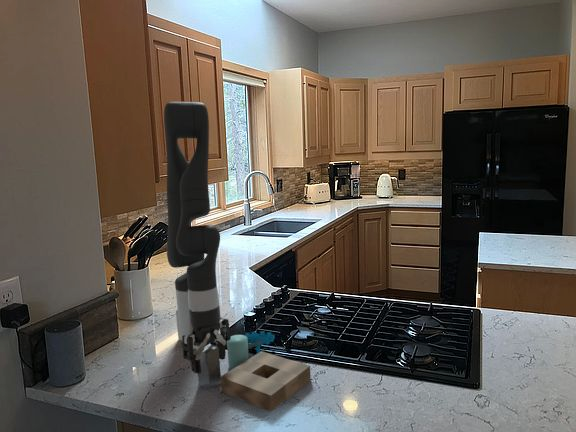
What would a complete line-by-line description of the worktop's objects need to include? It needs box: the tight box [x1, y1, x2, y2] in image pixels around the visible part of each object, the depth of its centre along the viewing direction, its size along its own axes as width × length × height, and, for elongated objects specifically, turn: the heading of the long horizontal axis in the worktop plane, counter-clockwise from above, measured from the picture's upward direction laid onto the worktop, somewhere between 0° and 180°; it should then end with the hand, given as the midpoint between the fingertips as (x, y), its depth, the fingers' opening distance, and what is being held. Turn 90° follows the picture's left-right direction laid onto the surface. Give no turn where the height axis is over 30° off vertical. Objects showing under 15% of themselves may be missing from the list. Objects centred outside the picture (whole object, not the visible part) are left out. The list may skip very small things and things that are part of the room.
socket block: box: [220, 350, 311, 412], centre depth 117 cm, size 16×16×4 cm
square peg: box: [195, 343, 222, 391], centre depth 119 cm, size 4×4×10 cm
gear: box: [244, 330, 276, 354], centre depth 136 cm, size 11×6×10 cm
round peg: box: [226, 334, 250, 371], centre depth 128 cm, size 6×6×8 cm
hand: (209, 365), depth 119 cm, fingers open, 8 cm apart
